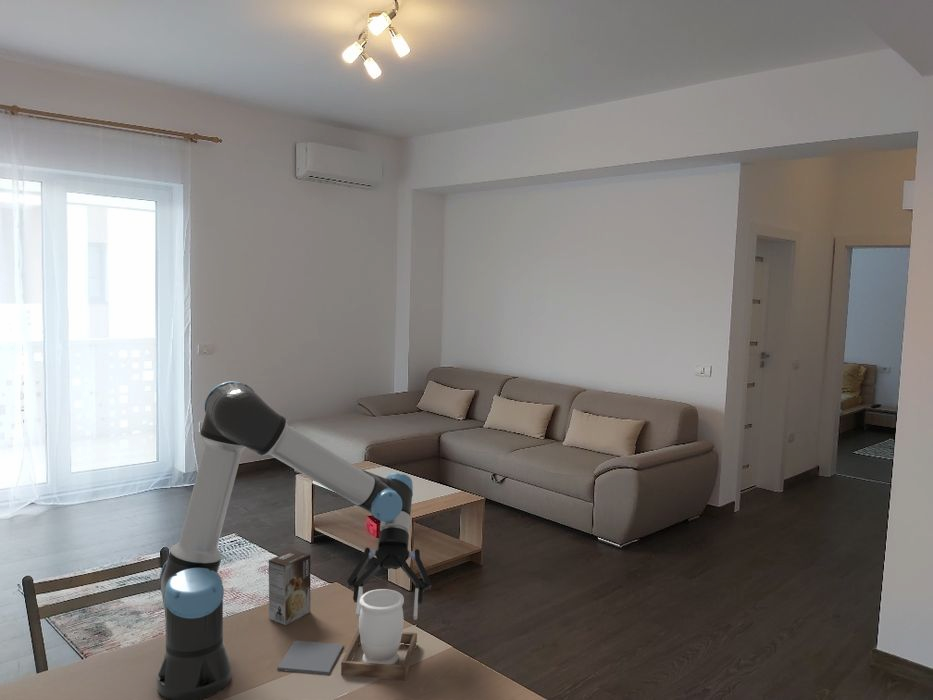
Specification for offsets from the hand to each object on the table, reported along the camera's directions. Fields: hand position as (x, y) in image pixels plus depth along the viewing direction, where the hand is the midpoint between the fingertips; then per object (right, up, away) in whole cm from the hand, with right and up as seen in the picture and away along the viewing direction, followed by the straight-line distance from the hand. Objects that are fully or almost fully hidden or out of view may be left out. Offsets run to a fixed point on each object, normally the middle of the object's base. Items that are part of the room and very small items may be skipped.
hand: (386, 616), depth 167 cm
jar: (-1, -10, -1) cm, 10 cm away
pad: (-17, -9, -2) cm, 20 cm away
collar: (-1, -10, -1) cm, 10 cm away
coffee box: (-28, -7, +18) cm, 34 cm away
